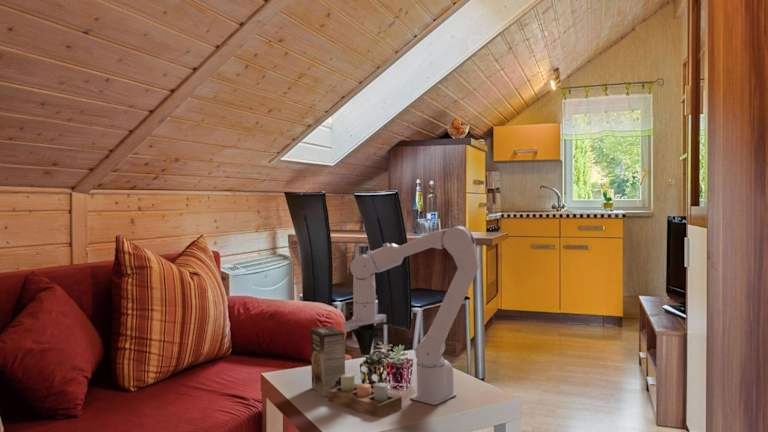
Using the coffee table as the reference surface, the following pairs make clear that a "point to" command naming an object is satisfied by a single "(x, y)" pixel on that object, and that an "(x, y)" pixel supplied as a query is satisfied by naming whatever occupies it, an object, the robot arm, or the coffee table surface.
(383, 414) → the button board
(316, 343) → the coffee box
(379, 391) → the white egg
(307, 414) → the coffee table surface
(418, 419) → the coffee table surface
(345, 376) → the pale green egg
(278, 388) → the coffee table surface
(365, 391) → the orange egg
